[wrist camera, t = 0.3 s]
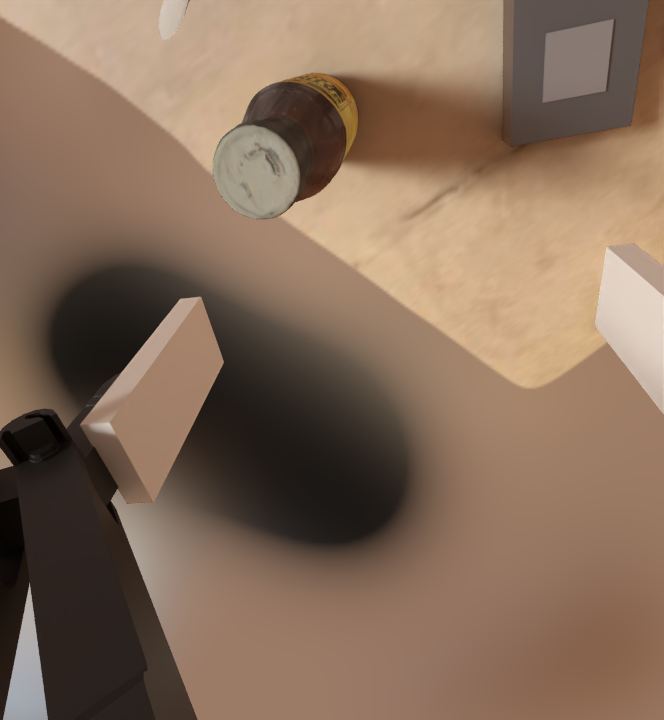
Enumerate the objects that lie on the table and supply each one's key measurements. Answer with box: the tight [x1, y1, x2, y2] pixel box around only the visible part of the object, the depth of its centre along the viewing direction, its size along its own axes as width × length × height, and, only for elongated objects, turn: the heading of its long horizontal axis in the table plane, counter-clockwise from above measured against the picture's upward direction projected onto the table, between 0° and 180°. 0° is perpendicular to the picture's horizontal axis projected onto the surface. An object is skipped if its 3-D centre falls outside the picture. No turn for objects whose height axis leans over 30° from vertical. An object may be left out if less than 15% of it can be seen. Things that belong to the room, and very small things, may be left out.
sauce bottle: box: [213, 73, 358, 219], centre depth 29 cm, size 7×6×20 cm
